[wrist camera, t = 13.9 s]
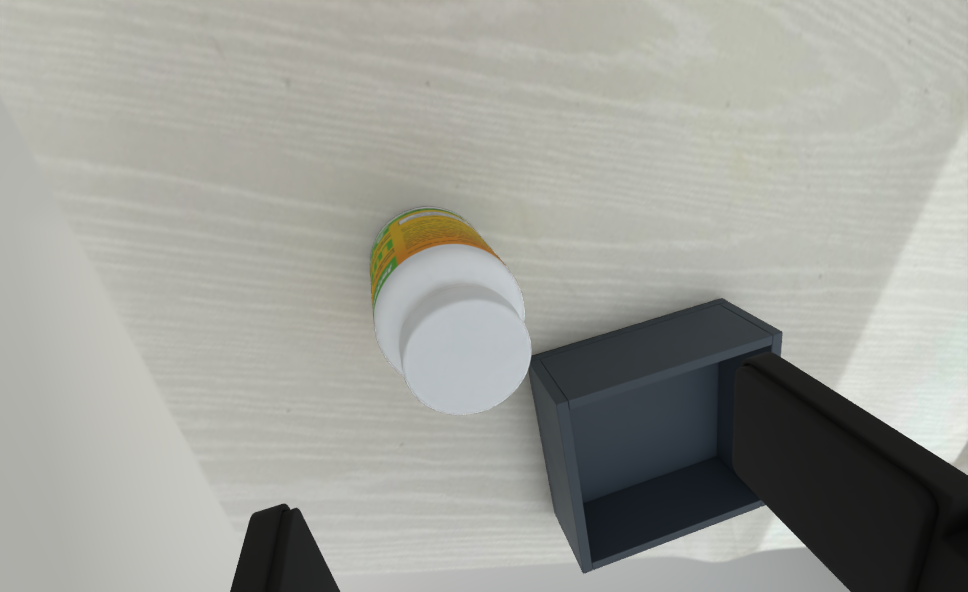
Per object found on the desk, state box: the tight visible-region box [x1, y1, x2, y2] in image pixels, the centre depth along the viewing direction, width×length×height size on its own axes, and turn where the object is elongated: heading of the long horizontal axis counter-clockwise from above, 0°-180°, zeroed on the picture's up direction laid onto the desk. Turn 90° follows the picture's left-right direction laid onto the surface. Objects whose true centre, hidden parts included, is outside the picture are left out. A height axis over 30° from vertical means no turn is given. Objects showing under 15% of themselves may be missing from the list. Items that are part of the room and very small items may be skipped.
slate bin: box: [528, 298, 782, 573], centre depth 28 cm, size 12×12×4 cm
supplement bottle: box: [370, 207, 532, 415], centre depth 19 cm, size 5×5×10 cm
